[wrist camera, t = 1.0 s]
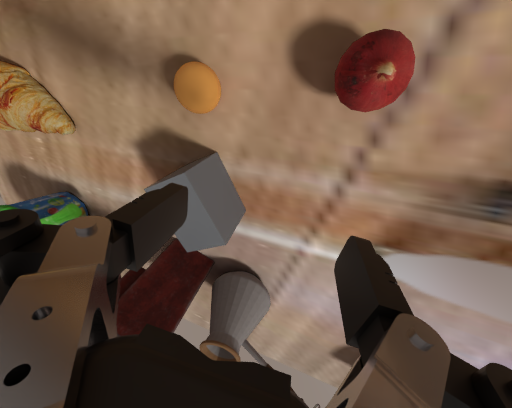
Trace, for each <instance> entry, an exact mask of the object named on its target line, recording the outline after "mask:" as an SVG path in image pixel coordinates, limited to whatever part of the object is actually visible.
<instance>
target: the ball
mask: <svg viewBox="0 0 512 408" xmlns="http://www.w3.org/2000/svg"><path fill="white" fill-rule="evenodd" d="M174 90H175V94H176V96H177V99H178V100H179V102H180V103H181V104H182V105H183V106H184V107H185V108H186V109H187V110H189V111H191V112H193V113H198V114H203V113H207V112H210V111H211V110H213V109H214V108H215V107H216V106H217V104H218V102H219V100H220V96H221V86H220V82H219V79H218V77H217V75H216V74H215V72H214V71H213V70H212V69H211V68H210V67H208V66H207V65H205V64H203V63H201V62H188V63H185V64H184V65H182V66H181V67H180V68H179V69H178V71H177V72H176V75H175V78H174Z"/></svg>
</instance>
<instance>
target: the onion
mask: <svg viewBox="0 0 512 408" xmlns="http://www.w3.org/2000/svg"><path fill="white" fill-rule="evenodd" d="M414 64H415V54H414V51H413V47H412V43H411V41H410V40H408V39H407V38H406V37H405V36H404V35H403V34H402V33H401V32H400V31H394V30H389V29H382V30H379V31H375V32H371V33H368V34H366V35H365V36H363V37H361V38H360V39H358V40H357V41H355V42H353V43H352V45H351V46H350V47H349V48H348V50H347V51H346V52H345V53H344V54H343V56H342V57H341V60H340V62H339V64H338V67H337V69H336V72H335V91H336V93H337V96H338V98H339V100H340V102H341V103H343V104H344V105H345V106H347V107H348V108H350V109H351V110H356V111H361V112H368V111H373V110H378V109H381V108H383V107H385V106H387V105H389V104H391V103H393V102H394V101H395V100H396V99H397V98H398V97H399V96H400V95H401V94H402V92H403V91H404V90H405V89H406V87H407V85H408V83H409V81H410V79H411V77H412V75H413V72H414Z"/></svg>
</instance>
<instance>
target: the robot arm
mask: <svg viewBox="0 0 512 408" xmlns="http://www.w3.org/2000/svg"><path fill="white" fill-rule="evenodd" d="M187 211H188V188H187V187H186V186H182V185H179V184H176V183H169V184H168V185H166V186H164V187H163V188H161V189H156V190H153V191H149V192H147V193H145V194H143V195H141V196H140V197H139V198H136V199H135V200H133V201H132V202H130V203H128V204H126V205H124V206H123V207H121V208H119V209H118V210H116V211H114V212H112V213H111V214H109V215H107V216H106V217H102V216H84V217H79V218H76V219H73V220H71V221H68V222H67V223H65V224H64V225H52V224H41V221H40V218H39V216H38V214H37V213H36V212H35V211H32V210H28V209H11V210H4V211H0V408H309V407H308V406H307V405H306V404H305V403H304V401H303V400H301V399H300V398H299V397H298V396H297V395H296V394H295V393H294V392H292V391H291V390H290V388H291V376H290V375H288V374H285V373H282V372H279V371H277V370H274V369H271V368H268V367H266V366H263V365H260V364H257V363H254V362H237V361H216V360H212V359H210V358H209V357H207V356H206V355H205V354H204V353H202V352H201V351H199V350H198V349H197V348H196V347H194V346H193V345H192V344H191V343H189V342H188V341H187V340H185V339H184V338H183V337H181V336H180V335H177V334H175V333H172V332H169V331H166V330H164V329H161V328H158V327H155V326H153V325H150V324H146V325H145V327H144V328H143V329H142V331H141V332H140V334H139V335H136V334H135V335H125V336H119V337H117V311H118V302H119V292H120V283H121V274H120V273H121V272H122V271H124V270H125V269H126V268H127V269H130V270H133V271H136V272H137V271H138V270H139V269H140V268H141V267H142V266H143V265H144V264H145V263H146V262H147V261H148V260H149V259H150V258H151V257H152V256H153V255H154V254H155V253H156V252H157V251H158V250H159V249H160V248H161V247H162V246H163V245H164V244H165V243H166V242H167V241H168V240H169V239H170V238H171V237H172V236H173V234H174V233H175V232H176V231H177V230H178V229H179V228H180V227H181V226H182V225H183V224H184V222H185V220H186V218H187ZM334 273H335V279H336V285H337V291H338V297H339V303H340V309H341V314H342V320H343V326H344V332H345V338H346V344H347V345H350V346H353V347H356V348H359V351H360V356H359V357H358V359H357V360H356V361H355V363H354V364H353V366H352V368H351V369H350V371H349V372H348V374H347V376H346V377H345V379H344V380H343V382H342V383H341V385H340V387H339V388H338V390H337V391H336V393H335V394H334V396H333V398H332V399H331V401H330V402H329V403H328V405H327V406H326V407H325V408H512V370H511V369H509V368H507V367H505V366H503V365H500V364H497V363H489V364H488V365H486V366H484V367H483V368H481V369H480V370H479V369H477V368H475V367H474V366H472V365H470V364H469V363H467V362H465V361H463V360H462V359H460V358H458V357H457V356H455V355H453V354H451V353H450V352H449V349H448V347H447V345H446V343H445V342H444V341H443V339H442V338H441V337H440V335H439V334H438V333H437V332H436V331H435V330H434V329H433V328H432V327H430V326H429V325H428V324H427V323H425V322H424V321H422V320H421V319H419V318H417V317H415V316H414V315H413V313H412V311H411V309H410V307H409V305H408V303H407V301H406V299H405V297H404V295H403V293H402V291H401V289H400V287H399V285H397V281H396V279H395V277H394V276H393V273H392V271H391V269H390V267H389V265H388V264H387V263H386V262H385V261H384V260H383V258H382V257H381V256H380V255H378V254H376V252H375V250H374V248H373V246H372V243H371V242H370V241H369V240H366V239H362V238H359V237H356V236H350V237H349V239H348V240H347V242H346V244H345V246H344V248H343V249H342V251H341V253H340V255H339V257H338V258H337V261H336V263H335V268H334Z"/></svg>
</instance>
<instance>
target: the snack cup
mask: <svg viewBox="0 0 512 408" xmlns="http://www.w3.org/2000/svg"><path fill="white" fill-rule="evenodd" d="M11 209H28V210H32V211H35V212H36V213H37V214H38V216H39V218H40V221H41V224H52V225H64V224H65V223H67V222H68V221H71V220H73V219H76V218H79V217H84V216H88V211H87V209H86V207H85V204H84V203H83V202H81V201H80V200H79V199H78V198H77V197H75V196H74V195H72V194H70V193H68V192H59V193H54V194H50V195H46V196H42V197H38V198H34V199H30V200H26V201H22V202H19V203H15V204H11V205H0V211H4V210H11Z"/></svg>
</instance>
